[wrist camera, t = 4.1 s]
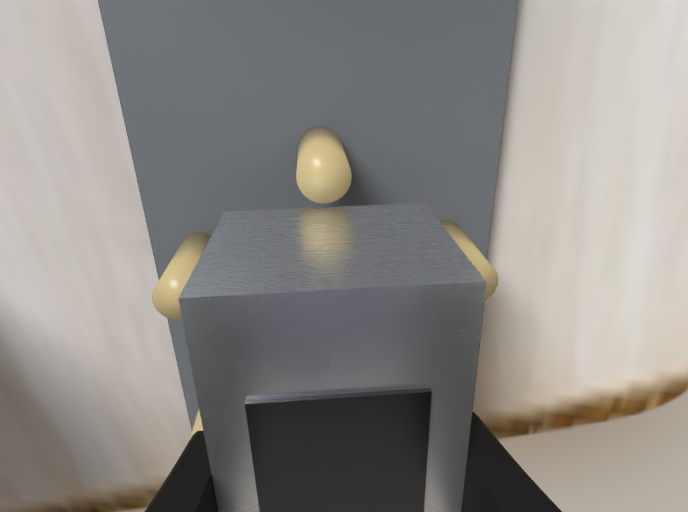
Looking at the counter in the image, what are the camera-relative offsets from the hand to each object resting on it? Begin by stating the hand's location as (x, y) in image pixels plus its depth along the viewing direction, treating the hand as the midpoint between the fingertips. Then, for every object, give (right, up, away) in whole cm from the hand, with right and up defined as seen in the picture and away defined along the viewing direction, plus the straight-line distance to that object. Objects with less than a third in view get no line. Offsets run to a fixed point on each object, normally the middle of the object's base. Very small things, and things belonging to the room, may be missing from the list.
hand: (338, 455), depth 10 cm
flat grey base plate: (-1, +7, +4) cm, 8 cm away
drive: (0, +2, +2) cm, 3 cm away
